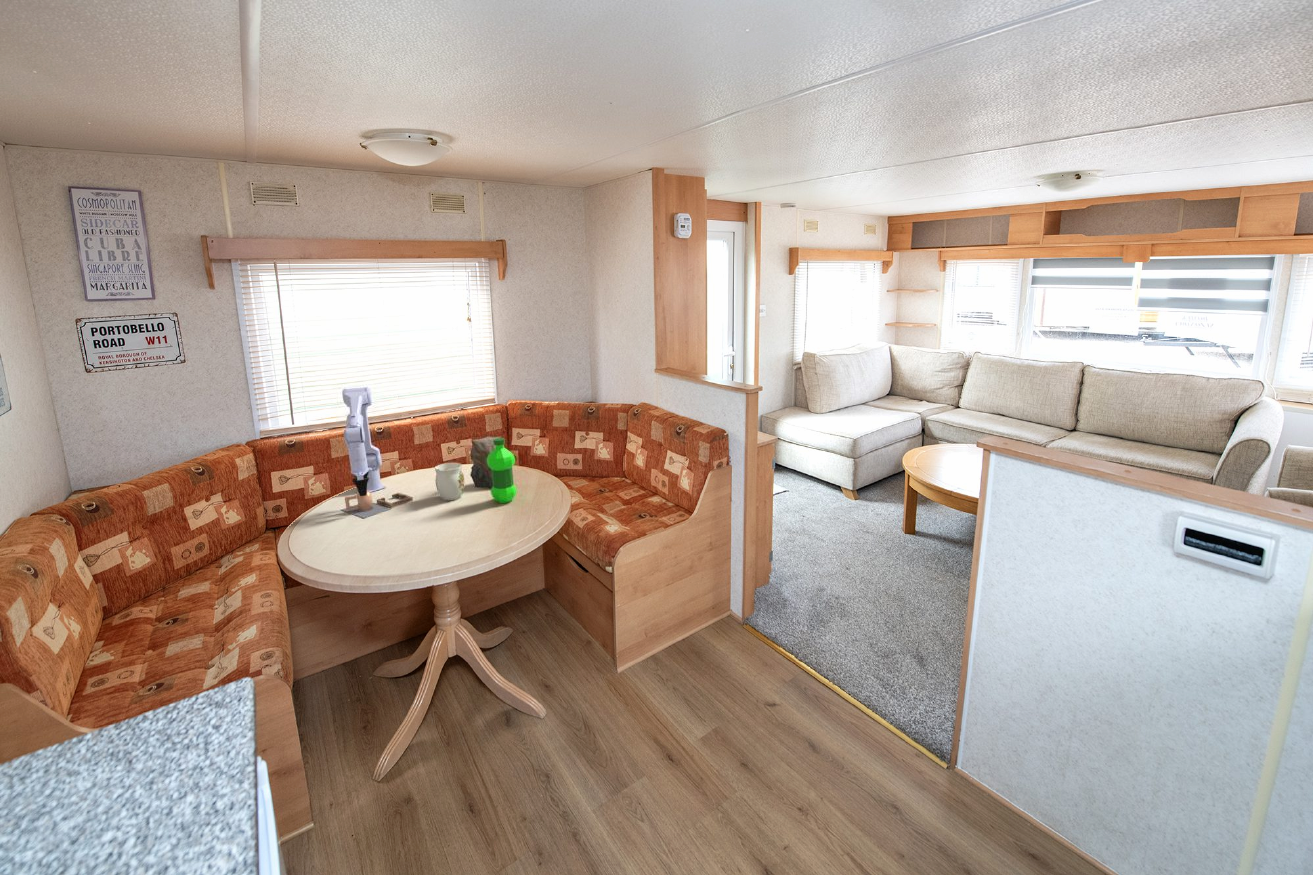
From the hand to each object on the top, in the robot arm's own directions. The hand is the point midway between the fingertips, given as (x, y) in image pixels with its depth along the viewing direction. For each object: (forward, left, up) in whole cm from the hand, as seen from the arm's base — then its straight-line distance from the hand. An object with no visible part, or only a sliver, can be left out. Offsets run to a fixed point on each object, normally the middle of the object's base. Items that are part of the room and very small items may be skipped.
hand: (363, 492), depth 235 cm
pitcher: (+17, +27, -7) cm, 33 cm away
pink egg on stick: (-1, -2, -7) cm, 7 cm away
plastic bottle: (+39, +35, -7) cm, 53 cm away
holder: (+2, +11, -7) cm, 13 cm away
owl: (+19, +45, -7) cm, 49 cm away
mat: (0, 0, -7) cm, 7 cm away
